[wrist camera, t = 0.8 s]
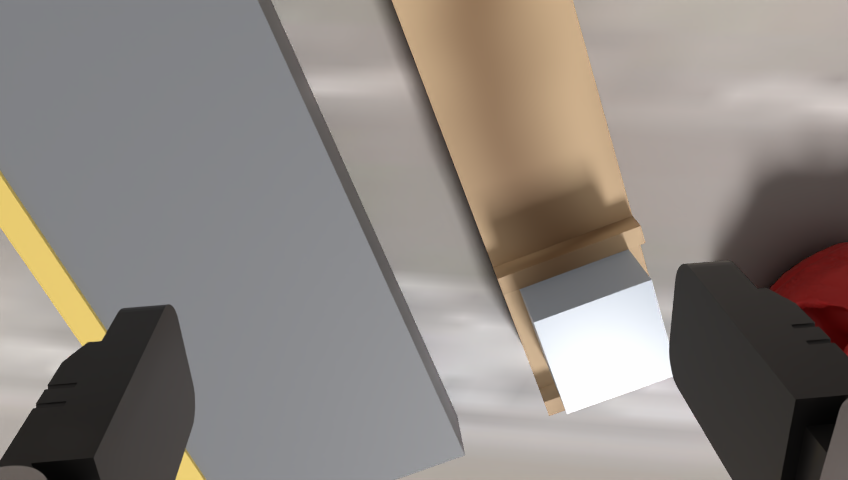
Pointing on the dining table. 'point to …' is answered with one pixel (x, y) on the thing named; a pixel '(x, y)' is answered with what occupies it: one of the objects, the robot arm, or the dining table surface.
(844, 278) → the pomegranate
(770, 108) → the dining table surface
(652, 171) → the dining table surface
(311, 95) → the plate
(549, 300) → the pale blue block
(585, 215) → the long wooden trough
